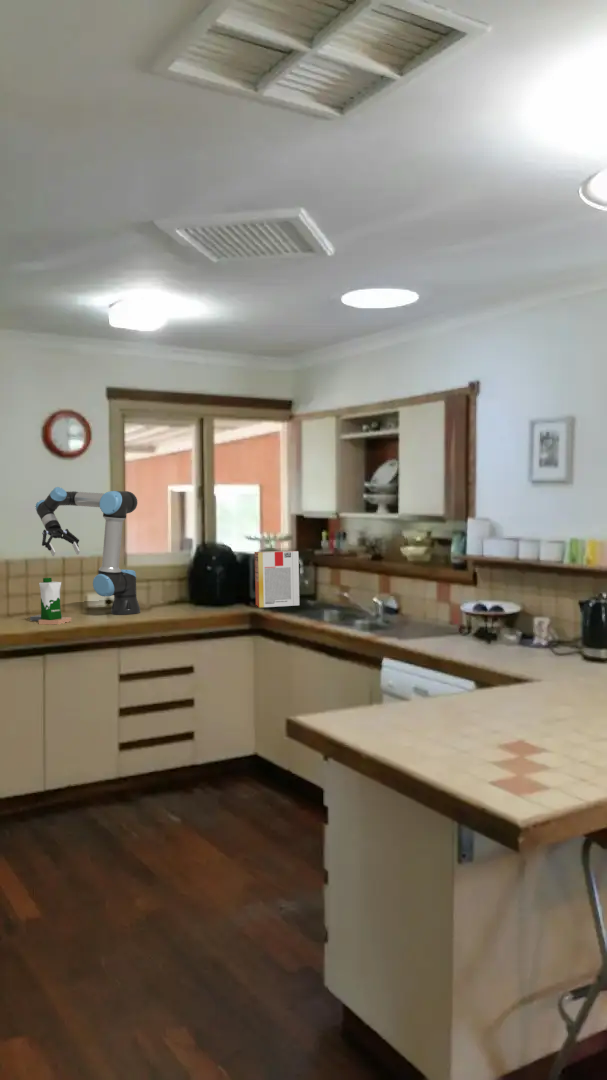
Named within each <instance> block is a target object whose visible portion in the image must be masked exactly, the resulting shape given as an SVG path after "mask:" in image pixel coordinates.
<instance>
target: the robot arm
mask: <svg viewBox="0 0 607 1080" xmlns="http://www.w3.org/2000/svg"><path fill="white" fill-rule="evenodd" d="M35 505H36V506H34V507H36V508H35V510H36V514H37V515H38V517H39V518H40V520H41V523H42V525H43V526H44V529H43V531H42V539H41V540H42V541H41V546H42V547H43V546H44V548H47V551H49V552H50V554H51V556H52V557H55V554H56V550H55V548H54V546H53V544H52V543H51V541H52V540H53V538H54V539H61V540H65V541H66V542H68V543H70V544H71V545H72V548H73V550H74V551H75V553H76V555H79V554H80V551H81V550H80V549H79V548H80V547H79V542H80V539H79V538H78V537H77V536H75V535H74V534H73V533H72V532H70V531H69V529H68V528H65V529H62V526H61V524H60V523H59V520H58V518H57V516H56V514H55V512H56V510H57V509H58V508H59V507H60V506H75V507H90V508H91V507H92V508H99V509H100V510H101V512H102V517H103V519H104V521H105V524H104V536H103V537H104V538H103V547H102V550H103V551H102V561H101V566H100V567H99V568H98V572H97V574H96V575H95V576H94V578H93V580H92V586H93V590H94V591H95V593H96V594H97V595H99V596H100V597H111V596H113V601H112V605H111V609H110V613H112V614H111V615H134V614H139V613H141V607H140V605H139V602H138V601H139V600H138V598H137V573H136V571H135V570H133V569H121V568H120V559H121V547H122V534H123V523H124V521H125V520H126V519H127V514H131V513H133V512H134V511H135V510H136V509H137V508H138V507H137V506H138V498H137V496H136V495H135V494H134V493H133V492H131V491H127V490H124V491H121V490H120V491H119V490H111V491H107V492H105V493H103V492H100V493H99V492H85V491H84V492H83V491H76V490H75V491H66V490H65V489H64V488H63V487H60V486H55V487H54V488H53V490H51V491H50V493H48V496H47V497H46V498H45V499H41V500H40V499H39V501H38V502H36V504H35ZM47 536H49V538H48V540H47Z"/></svg>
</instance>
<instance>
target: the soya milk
mask: <svg viewBox="0 0 607 1080" xmlns="http://www.w3.org/2000/svg"><path fill="white" fill-rule="evenodd" d="M38 584H39V585H38V586H39V591H40V615H41V619H44V620H54V619H61V618H62V617H63V615H62V616H61V614H62V610H61V609H62V608H61V587H62V581H53V580H52V577H43V578H42V582H39V583H38Z"/></svg>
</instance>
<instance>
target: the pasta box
mask: <svg viewBox="0 0 607 1080" xmlns="http://www.w3.org/2000/svg"><path fill="white" fill-rule="evenodd" d="M299 563H300V559H299V550H275V551H274V550H271V551H254V578H255V579H254V581H255V582H254V583H255V585H254V586H255V588H254V590H255V606H256V605H257V606H258V607H257V606H256V607H257V608H259V609H260V608H275V607H291V606H292V607H293V606H300V568H299V567H300V565H299Z"/></svg>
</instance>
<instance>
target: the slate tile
mask: <svg viewBox="0 0 607 1080" xmlns="http://www.w3.org/2000/svg"><path fill="white" fill-rule="evenodd" d="M61 616H62V617H63V615H62V613H61ZM29 618H30V619H29V620H30V621H31V622H32V621H34V622H39V620H41V614H36V615H32V616H30V617H29Z"/></svg>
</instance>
